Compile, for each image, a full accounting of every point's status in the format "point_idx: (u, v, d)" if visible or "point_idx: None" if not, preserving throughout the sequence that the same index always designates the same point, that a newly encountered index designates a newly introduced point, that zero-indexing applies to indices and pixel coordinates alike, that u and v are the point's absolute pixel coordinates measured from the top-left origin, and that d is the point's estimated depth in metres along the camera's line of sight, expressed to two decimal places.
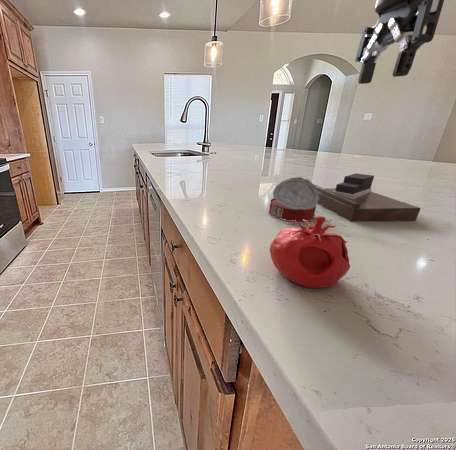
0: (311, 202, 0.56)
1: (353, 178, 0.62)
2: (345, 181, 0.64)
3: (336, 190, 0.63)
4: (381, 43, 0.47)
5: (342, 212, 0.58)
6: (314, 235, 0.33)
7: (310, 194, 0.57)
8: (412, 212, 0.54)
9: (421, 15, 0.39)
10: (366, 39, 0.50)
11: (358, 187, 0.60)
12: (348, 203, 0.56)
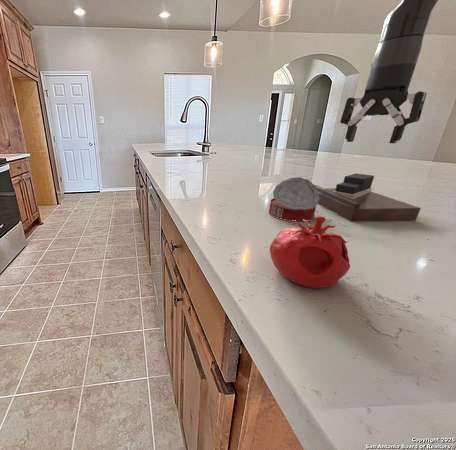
0: (311, 202, 0.56)
1: (353, 178, 0.62)
2: (345, 181, 0.64)
3: (336, 190, 0.63)
4: (371, 114, 0.58)
5: (342, 212, 0.58)
6: (314, 235, 0.33)
7: (310, 194, 0.57)
8: (412, 212, 0.54)
9: (417, 103, 0.51)
10: (350, 107, 0.61)
11: (358, 187, 0.60)
12: (348, 203, 0.56)
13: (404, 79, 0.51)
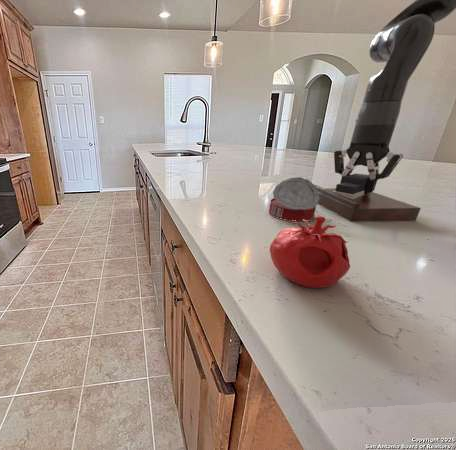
0: (311, 202, 0.56)
1: (353, 178, 0.62)
2: (345, 181, 0.64)
3: (336, 190, 0.63)
4: (356, 164, 0.63)
5: (342, 212, 0.58)
6: (314, 235, 0.33)
7: (310, 194, 0.57)
8: (412, 212, 0.54)
9: (391, 164, 0.57)
10: (340, 158, 0.66)
11: (358, 187, 0.60)
12: (348, 203, 0.56)
13: (385, 138, 0.56)
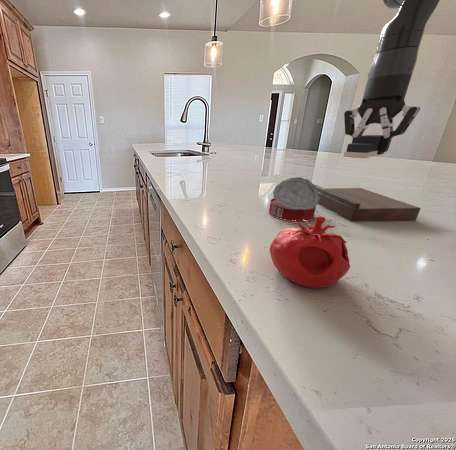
0: (311, 202, 0.56)
1: (365, 137, 0.58)
2: (357, 141, 0.60)
3: (347, 150, 0.59)
4: (369, 123, 0.59)
5: (342, 212, 0.58)
6: (314, 235, 0.33)
7: (310, 194, 0.57)
8: (412, 212, 0.54)
9: (407, 117, 0.53)
10: (350, 118, 0.62)
11: (371, 145, 0.57)
12: (348, 203, 0.56)
13: (401, 89, 0.53)
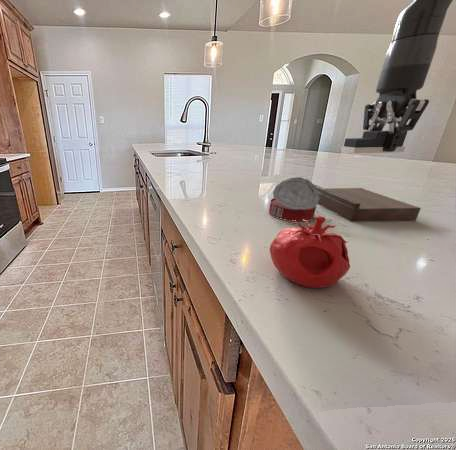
0: (311, 202, 0.56)
1: (369, 132, 0.56)
2: (363, 137, 0.58)
3: (344, 145, 0.59)
4: (381, 117, 0.56)
5: (342, 212, 0.58)
6: (314, 235, 0.33)
7: (310, 194, 0.57)
8: (412, 212, 0.54)
9: (408, 112, 0.49)
10: (369, 113, 0.59)
11: (366, 141, 0.55)
12: (348, 203, 0.56)
13: (405, 81, 0.49)
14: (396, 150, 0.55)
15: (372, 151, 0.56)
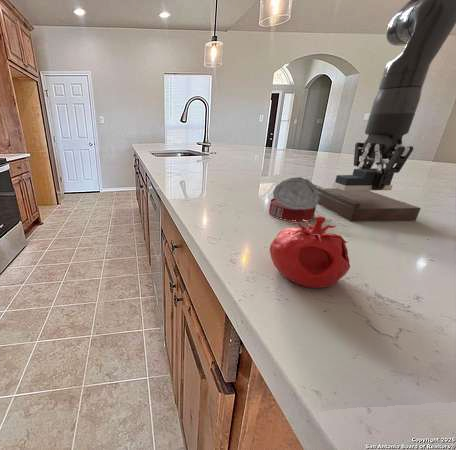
0: (311, 202, 0.56)
1: (359, 171, 0.59)
2: (353, 174, 0.61)
3: (335, 181, 0.62)
4: (370, 157, 0.59)
5: (342, 212, 0.58)
6: (314, 235, 0.33)
7: (310, 194, 0.57)
8: (412, 212, 0.54)
9: (394, 157, 0.52)
10: (359, 150, 0.62)
11: (356, 180, 0.58)
12: (348, 203, 0.56)
13: (391, 128, 0.52)
14: (384, 188, 0.58)
15: (361, 189, 0.59)
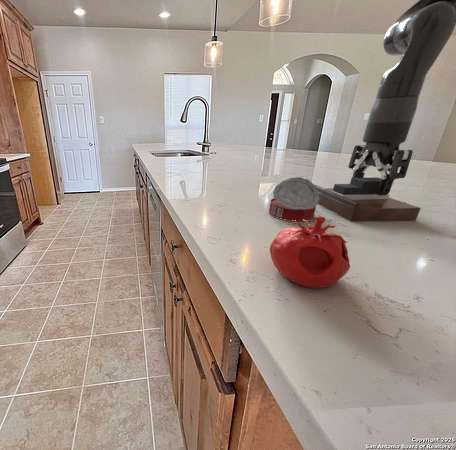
0: (311, 202, 0.56)
1: (356, 180, 0.60)
2: (351, 183, 0.62)
3: (333, 190, 0.63)
4: (368, 164, 0.60)
5: (342, 212, 0.58)
6: (314, 235, 0.33)
7: (310, 194, 0.57)
8: (412, 212, 0.54)
9: (396, 161, 0.52)
10: (357, 154, 0.63)
11: (353, 189, 0.59)
12: (348, 203, 0.56)
13: (388, 136, 0.53)
14: (381, 197, 0.59)
15: (359, 198, 0.60)
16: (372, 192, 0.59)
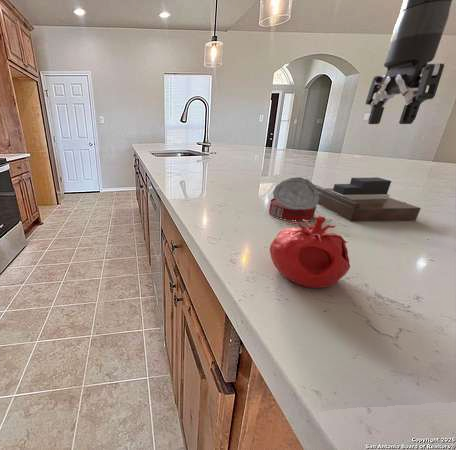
0: (311, 202, 0.56)
1: (356, 180, 0.60)
2: (351, 183, 0.62)
3: (333, 190, 0.63)
4: (389, 93, 0.54)
5: (342, 212, 0.58)
6: (314, 235, 0.33)
7: (310, 194, 0.57)
8: (412, 212, 0.54)
9: (424, 77, 0.46)
10: (376, 86, 0.57)
11: (353, 189, 0.59)
12: (348, 203, 0.56)
13: (415, 52, 0.47)
14: (381, 197, 0.59)
15: (359, 198, 0.60)
16: (372, 192, 0.59)
